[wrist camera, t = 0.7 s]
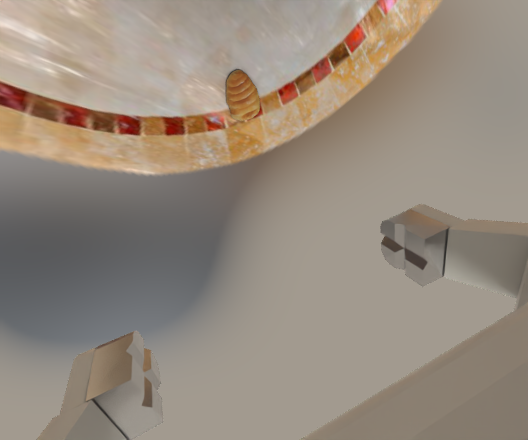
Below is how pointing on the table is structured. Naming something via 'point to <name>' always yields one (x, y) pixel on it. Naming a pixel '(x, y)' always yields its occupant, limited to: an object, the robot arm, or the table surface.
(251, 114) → the pastry
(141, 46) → the table surface
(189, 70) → the table surface
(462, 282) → the robot arm
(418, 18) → the table surface
